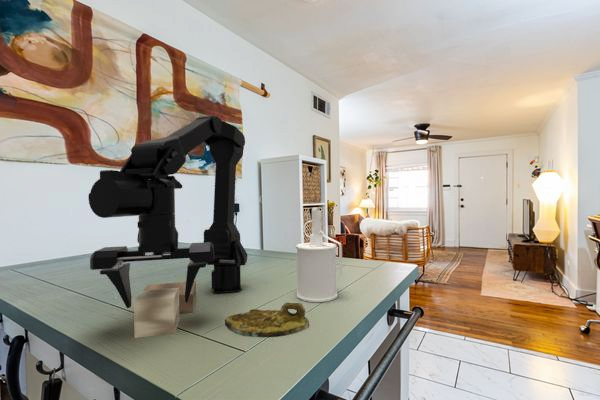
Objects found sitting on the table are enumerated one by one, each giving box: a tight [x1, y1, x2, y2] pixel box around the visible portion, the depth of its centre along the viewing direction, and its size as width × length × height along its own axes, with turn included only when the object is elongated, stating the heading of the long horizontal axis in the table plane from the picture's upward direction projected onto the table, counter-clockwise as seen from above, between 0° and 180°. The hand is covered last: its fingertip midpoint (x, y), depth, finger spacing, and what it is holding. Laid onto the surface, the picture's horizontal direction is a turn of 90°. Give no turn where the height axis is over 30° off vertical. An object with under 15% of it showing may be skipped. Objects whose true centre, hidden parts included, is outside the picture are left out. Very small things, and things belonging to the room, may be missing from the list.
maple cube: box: [133, 288, 180, 339], centre depth 52 cm, size 6×6×6 cm
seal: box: [224, 302, 310, 338], centre depth 52 cm, size 9×5×15 cm
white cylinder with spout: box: [295, 207, 343, 303], centre depth 68 cm, size 10×9×20 cm
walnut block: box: [141, 280, 197, 315], centre depth 63 cm, size 10×10×4 cm
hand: (158, 304), depth 52 cm, fingers open, 9 cm apart
